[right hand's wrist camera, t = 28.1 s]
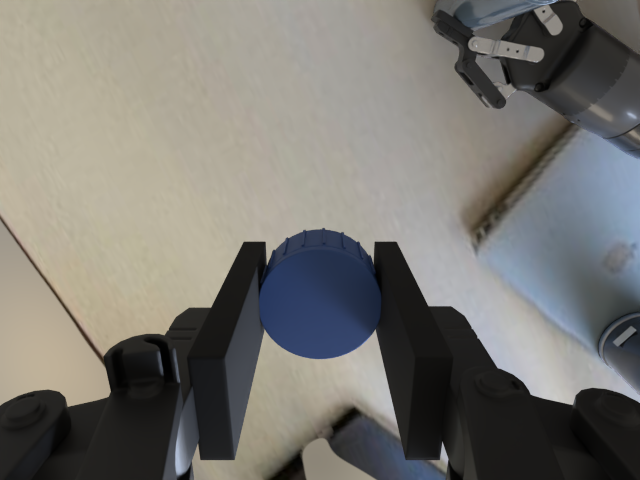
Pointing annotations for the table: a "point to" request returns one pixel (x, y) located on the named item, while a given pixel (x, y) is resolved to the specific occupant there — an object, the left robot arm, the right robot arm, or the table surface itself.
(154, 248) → the table surface
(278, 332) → the cap
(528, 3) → the bottle
